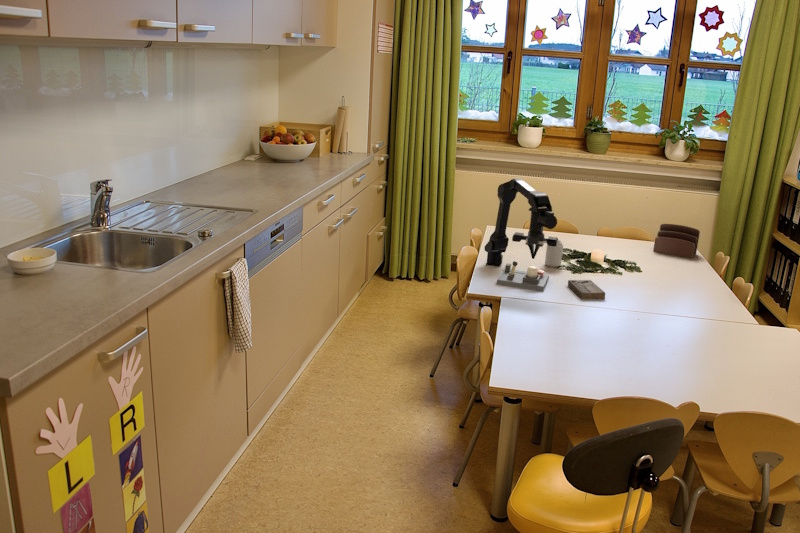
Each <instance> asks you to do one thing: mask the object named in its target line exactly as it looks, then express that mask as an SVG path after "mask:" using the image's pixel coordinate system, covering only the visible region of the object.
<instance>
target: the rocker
mask: <svg viewBox="0 0 800 533" xmlns="http://www.w3.org/2000/svg"><path fill="white" fill-rule="evenodd" d="M543 274H545V270H543V269H540V268H538V273H537V275H541V277H542V276H543Z"/></svg>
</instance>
